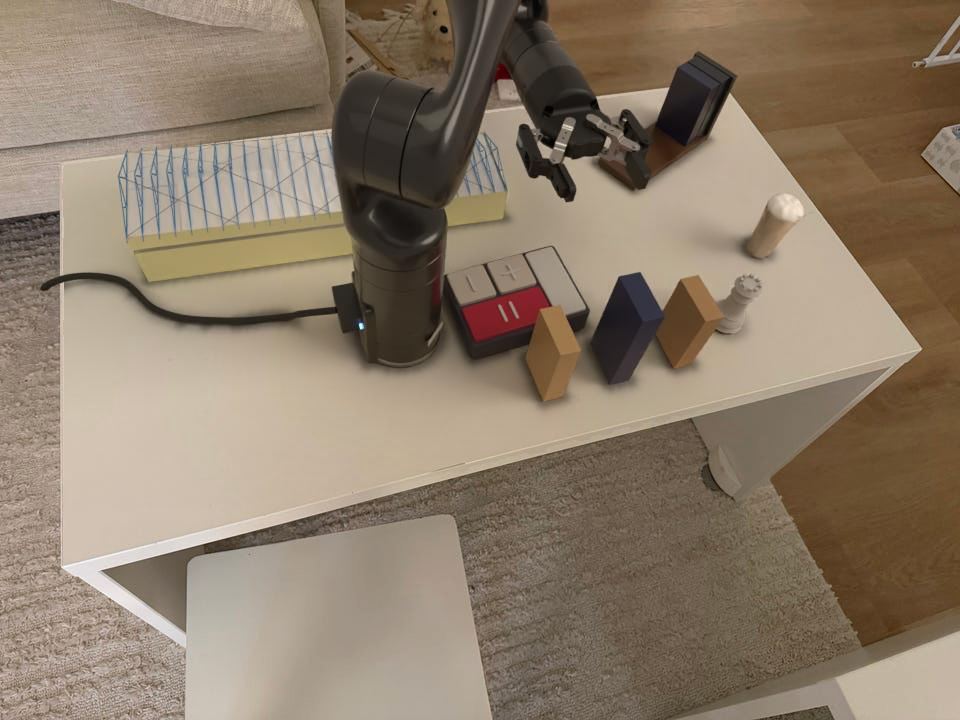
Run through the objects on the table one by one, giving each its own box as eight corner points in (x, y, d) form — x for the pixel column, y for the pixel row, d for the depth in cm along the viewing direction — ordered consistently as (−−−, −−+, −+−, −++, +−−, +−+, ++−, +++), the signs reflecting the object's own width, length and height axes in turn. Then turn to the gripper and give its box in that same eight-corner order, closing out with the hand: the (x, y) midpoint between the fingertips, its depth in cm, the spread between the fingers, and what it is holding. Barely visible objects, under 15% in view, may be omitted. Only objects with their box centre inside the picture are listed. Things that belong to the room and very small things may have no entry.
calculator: (440, 271, 79) (554, 239, 83) (440, 292, 83) (549, 261, 86) (473, 344, 74) (592, 308, 78) (471, 363, 78) (586, 328, 81)
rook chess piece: (745, 317, 85) (775, 277, 78) (734, 341, 83) (763, 303, 76) (713, 301, 86) (739, 261, 79) (701, 324, 84) (727, 285, 77)
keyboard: (148, 285, 79) (116, 225, 70) (147, 196, 86) (117, 131, 77) (509, 235, 88) (520, 176, 80) (480, 158, 96) (487, 97, 87)
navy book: (609, 385, 78) (642, 321, 67) (589, 343, 80) (618, 276, 69) (629, 380, 78) (665, 316, 67) (608, 339, 81) (640, 271, 70)
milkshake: (765, 271, 89) (802, 219, 81) (734, 246, 91) (768, 193, 83) (784, 256, 91) (823, 204, 83) (754, 232, 93) (789, 178, 85)
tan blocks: (543, 402, 76) (560, 355, 67) (525, 358, 78) (539, 308, 70) (691, 364, 80) (724, 316, 72) (669, 325, 83) (698, 274, 75)
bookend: (633, 191, 95) (658, 127, 86) (597, 164, 98) (617, 98, 88) (707, 139, 103) (737, 75, 93) (672, 115, 105) (698, 50, 96)
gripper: (500, 71, 73) (553, 173, 65) (616, 56, 76) (680, 152, 69) (493, 126, 79) (540, 226, 72) (600, 111, 83) (657, 204, 75)
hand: (609, 190), depth 70 cm, fingers open, 8 cm apart
